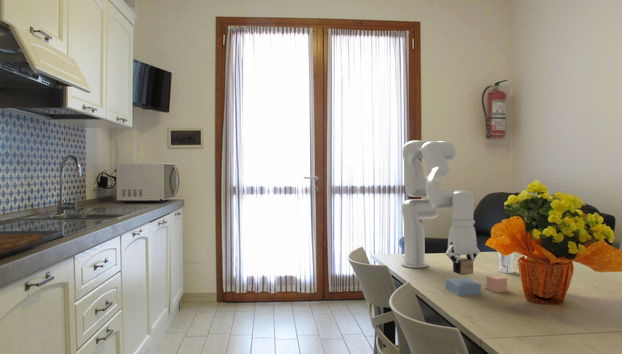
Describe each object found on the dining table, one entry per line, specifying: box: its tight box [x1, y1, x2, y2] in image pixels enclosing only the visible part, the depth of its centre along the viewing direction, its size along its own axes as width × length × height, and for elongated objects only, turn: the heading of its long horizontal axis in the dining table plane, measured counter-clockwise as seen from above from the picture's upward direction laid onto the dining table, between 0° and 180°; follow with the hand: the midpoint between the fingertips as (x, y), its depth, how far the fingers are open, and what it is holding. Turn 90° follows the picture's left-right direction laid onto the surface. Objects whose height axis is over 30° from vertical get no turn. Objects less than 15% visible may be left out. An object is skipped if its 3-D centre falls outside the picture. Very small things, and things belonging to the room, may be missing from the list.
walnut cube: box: [459, 257, 474, 276], centre depth 151 cm, size 5×5×5 cm
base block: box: [445, 277, 482, 296], centre depth 151 cm, size 9×9×4 cm
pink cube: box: [486, 274, 508, 293], centre depth 152 cm, size 5×5×5 cm
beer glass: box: [497, 251, 515, 274], centre depth 179 cm, size 7×7×15 cm
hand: (463, 271), depth 151 cm, fingers closed on walnut cube, 4 cm apart
